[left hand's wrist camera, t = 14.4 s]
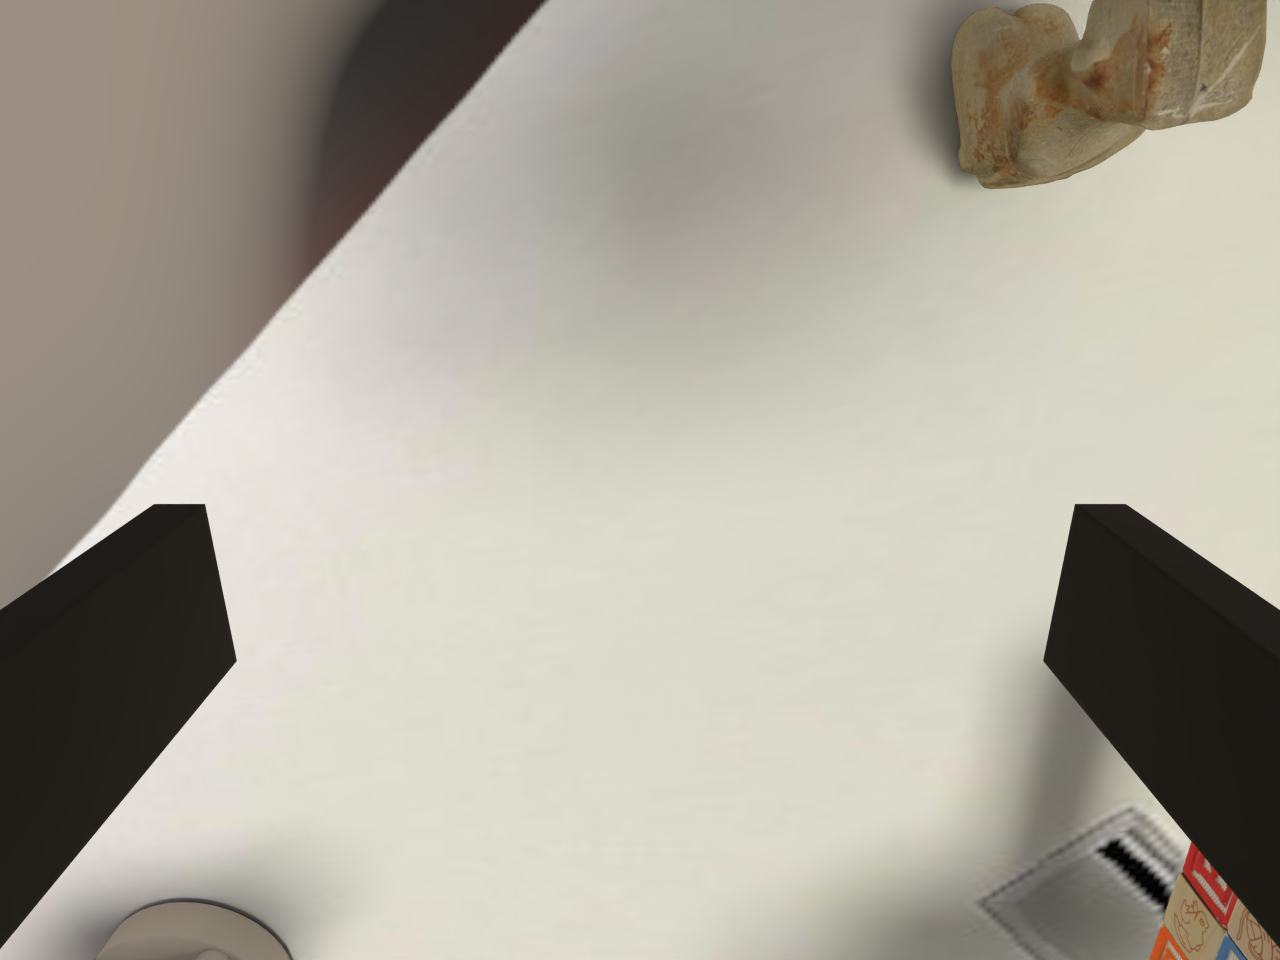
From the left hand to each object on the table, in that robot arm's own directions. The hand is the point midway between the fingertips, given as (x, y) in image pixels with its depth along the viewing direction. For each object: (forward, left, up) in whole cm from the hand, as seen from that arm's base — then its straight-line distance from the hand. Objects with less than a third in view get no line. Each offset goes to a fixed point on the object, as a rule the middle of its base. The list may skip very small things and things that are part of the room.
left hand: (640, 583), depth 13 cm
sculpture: (-18, +5, -30) cm, 35 cm away
